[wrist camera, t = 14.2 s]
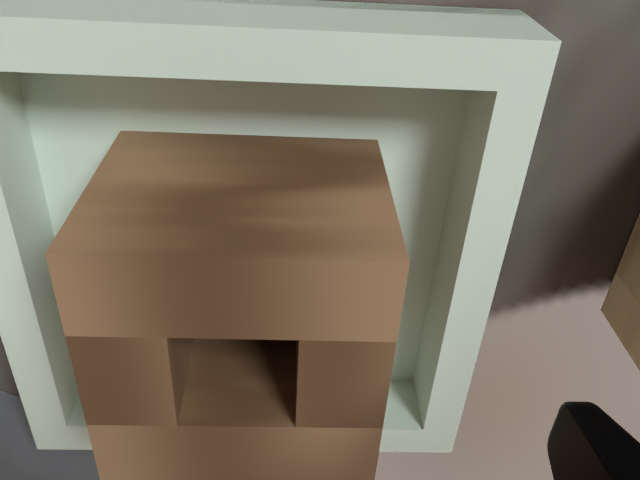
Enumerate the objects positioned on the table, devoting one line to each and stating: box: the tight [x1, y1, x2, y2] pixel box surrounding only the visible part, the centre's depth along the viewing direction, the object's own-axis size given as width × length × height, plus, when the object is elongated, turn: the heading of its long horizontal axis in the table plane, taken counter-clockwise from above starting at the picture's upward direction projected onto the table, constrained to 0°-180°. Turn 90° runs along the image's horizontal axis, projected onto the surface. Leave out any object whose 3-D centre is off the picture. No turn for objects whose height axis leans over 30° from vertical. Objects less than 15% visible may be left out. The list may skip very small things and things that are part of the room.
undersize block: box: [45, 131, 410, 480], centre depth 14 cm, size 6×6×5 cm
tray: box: [0, 0, 562, 453], centre depth 15 cm, size 12×12×2 cm
